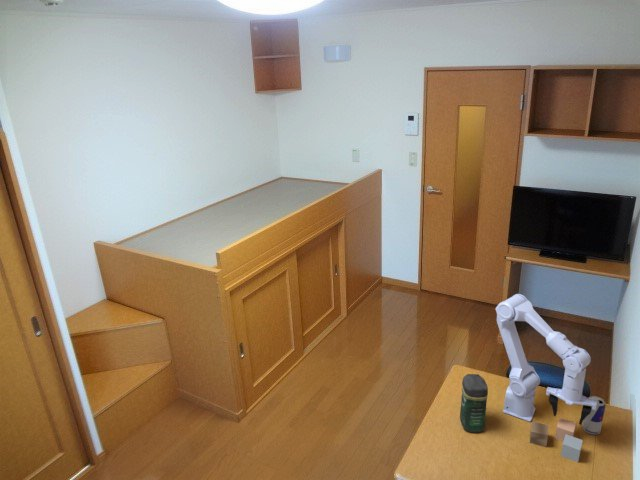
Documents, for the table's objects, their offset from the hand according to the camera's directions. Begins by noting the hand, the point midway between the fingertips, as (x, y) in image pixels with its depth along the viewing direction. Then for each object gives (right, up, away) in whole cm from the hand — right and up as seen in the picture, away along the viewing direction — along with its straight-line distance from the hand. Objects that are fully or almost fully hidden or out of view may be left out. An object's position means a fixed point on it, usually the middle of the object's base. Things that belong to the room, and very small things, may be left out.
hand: (567, 418), depth 160 cm
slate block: (-1, -10, -4) cm, 11 cm away
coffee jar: (-28, -6, +11) cm, 31 cm away
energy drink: (+11, -6, +5) cm, 13 cm away
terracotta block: (0, -7, +3) cm, 8 cm away
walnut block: (-9, -8, +2) cm, 12 cm away
